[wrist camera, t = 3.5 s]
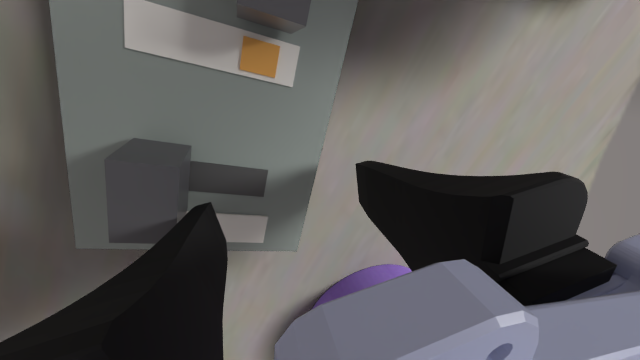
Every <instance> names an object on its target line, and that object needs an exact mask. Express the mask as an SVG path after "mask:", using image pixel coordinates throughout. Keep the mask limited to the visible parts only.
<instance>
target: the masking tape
mask: <svg viewBox="0 0 640 360" xmlns="http://www.w3.org/2000/svg"><path fill="white" fill-rule="evenodd" d="M409 272H412V271H411V269H409V268H407V267H404V266H400V265H390V264H387V265H378V266H372V267H369V268H365V269H363V270H360V271H357V272H355V273H353V274H351V275H349V276H347V277H345V278H344V279H342V280H341V281H339V282H337V283H336V284H335V285H333V286H332V287H331V288H330V289H328V290H327V291H326V292H325V293H324V294H323V295H322V296H321V297H320V299H319V300H318V301H317V302H316V303H315V305H314V306H313V308H312V309H314V308H316V307H317V306H319V305H321V304H324V303H326V302H329V301H332V300H335V299H337V298H340V297H343V296H346V295H349V294H351V293H354V292H357V291H360V290H362V289H365V288H368V287H371V286H373V285H376V284H379V283H382V282H385V281H387V280H390V279H393V278H396V277H398V276H401V275H404V274H407V273H409ZM312 309H311V310H312Z"/></svg>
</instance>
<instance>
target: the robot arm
mask: <svg viewBox="0 0 640 360" xmlns="http://www.w3.org/2000/svg"><path fill="white" fill-rule="evenodd" d="M356 173H357V183H358V194H359V202H360V204H361V206H362V207H363V209H364V211H365V212H366V214H367V215H368V217H369V218H370V219H371V221H372V222H373V223H374V224H375V225H376V227H377V228H378V229H379V230H380V231H381V232H382V234H383V235H384V236H385V237H386V238H387V239H388V240H389V242H390V243H391V244H392V245H393V246H394V247H395V249H396V250H397V251H398V252H399V254H400V255H401V256H402V257H403V259H404V260H405V262H406V263H407V265H408V266H409V268H410V269H411V271H412V272H409V273H407V274H404V275H401V276H398V277H396V278H393V279H390V280H387V281H385V282H382V283H379V284H376V285H373V286H371V287H368V288H365V289H362V290H360V291H357V292H354V293H351V294H349V295H346V296H343V297H340V298H337V299H335V300H332V301H329V302H326V303H324V304H321V305H319V306H317V307H316V308H314V309H312V310H310V311H309V312H307V313H305V314H303V315H302V316H300V317H298V318H296V319H295V320H294V321H293V322H292V323H291V325H290V326H289V327H288V329H287V330H286V331H285V332H284V334H283V335H282V336H281V338H280V339H279V340H278V341H277V343H276V344H275V352H274V360H640V233H639V234H637V235H634V236H632V237H629V238H627V239H625V240H622V241H620V242H618V243H616V244H614V245H613V246H612V247H611V248H610V249H609V251H608V252H607V254H606V256H605V258H603V257H601V256H599V255H597V254H596V253H593V252H592V251H590V250H588V249H586V248H585V247H587V246H588V244H589V243H588V241H587V240H586V239H584V238H582V237H580V236H578V235H576V232H577V229H578V227H579V224H580V221H581V219H582V216H583V213H584V211H585V207H586V204H587V190H586V187H585V185H584V183H583V182H582V181H581V180H579V179H577V178H575V177H572V176H569V175H566V174H563V173H560V172H545V173H534V174H524V175H511V176H457V175H445V174H436V173H429V172H423V171H417V170H412V169H407V168H402V167H398V166H394V165H389V164H385V163H380V162H375V161H365V162H361V163H357V164H356ZM227 261H228V260H227V243H226V238H225V236H224V233H223V231H222V228H221V226H220V223H219V221H218V218H217V216H216V213H215V211H214V208H213V206H212V203H211V202H208V203H204V204H201V205H197V206H195V207H193V208H192V209H191V210H190V211H189V212H188V213H187V214H186V215H185V216H184V217H183V218H182V219H181V220H180V221H179V222H178V223H177V224H176V225H175V226H174V227H173V228H172V229H171V230H170V231H169V232H168V233H167V234H166V235H165V236H164V237H163V238H161V239H160V240H159V241H158V242H157V243H156V244H155V245H154V246H153V247H152V248H151V249H150V250H148V251H147V252H146V253H145V254H144V255H142V256H141V257H140V258H139V259H137V260H136V261H135V262H134V263H132V264H131V265H130V266H128V267H127V268H126V269H124V270H123V271H122V272H120V273H119V274H117V275H116V276H114V277H113V278H111V279H110V280H108V281H107V282H106V283H104V284H103V285H101V286H100V287H98V288H97V289H95V290H94V291H92V292H91V293H89V294H87V295H86V296H84V297H83V298H81V299H79V300H78V301H76V302H74V303H73V304H71V305H69V306H68V307H66V308H64V309H62V310H61V311H59V312H57V313H55V314H54V315H52V316H50V317H48V318H46V319H45V320H43V321H41V322H39V323H37V324H35V325H33V326H32V327H30V328H28V329H26V330H24V331H22V332H20V333H18V334H16V335H14V336H12V337H10V338H8V339H6V340H4V341H2V342H1V343H0V360H223V327H222V318H223V303H224V293H225V283H226V272H227Z"/></svg>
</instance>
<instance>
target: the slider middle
mask: <svg viewBox="0 0 640 360" xmlns="http://www.w3.org/2000/svg"><path fill="white" fill-rule="evenodd" d="M310 4H311V0H237V17H238V18H241V19H244V20H247V21H251V22H254V23H257V24H260V25H264V26H267V27H270V28H273V29H276V30H280V31H283V32H286V33H289V34H292V33H294V32H296V31H298V30H300V29H302V28H304V27H306V25H307V19H308V14H309V9H310Z"/></svg>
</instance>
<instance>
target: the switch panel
mask: <svg viewBox="0 0 640 360" xmlns="http://www.w3.org/2000/svg"><path fill="white" fill-rule="evenodd" d="M357 4H358V0H311V4H310V9H309V14H308V19H307V25H306V27H304V28H302V29H300V30H298V31H296V32H294V33H292V34H289V33H286V32H283V31H280V30H276V29H273V28H270V27H267V26H264V25H260V24H257V23H254V22H251V21H247V20H244V19H241V18H238V17H237V0H49V6H50V15H51V24H52V33H53V43H54V52H55V61H56V70H57V79H58V89H59V98H60V107H61V116H62V125H63V135H64V144H65V153H66V162H67V171H68V181H69V190H70V199H71V208H72V218H73V227H74V236H75V245H76V249H145V250H150V249H151V248H152V247H153V246H154V245H155V244H140V243H109V234H108V216H107V198H106V180H105V162H104V159H105V158H107V157H108V156H109V155H111V154H112V153H113V152H115V151H116V150H118V149H119V148H120V147H122V146H123V145H124V144H126V143H127V142H128V141H130V140H131V139H133V138H139V139H147V140H154V141H161V142H168V143H176V144H183V145H190V146H191V161H190V176H189V192H188V207H187V212H186V214H187V213H188V212H189V211H190V210H191V209H192V208H193V207H195V206H197V205H201V204H204V203H208V202H211V203H212V206H213V208H214V211H215V213H216V216H217V218H218V221H219V223H220V226H221V228H222V231H223V233H224V236H225V238H226V243H227V251H297V248H298V244H299V240H300V236H301V232H302V228H303V224H304V220H305V216H306V212H307V208H308V204H309V200H310V195H311V191H312V187H313V183H314V179H315V175H316V171H317V167H318V163H319V159H320V155H321V151H322V147H323V143H324V138H325V134H326V130H327V126H328V122H329V118H330V114H331V110H332V106H333V102H334V98H335V94H336V90H337V86H338V81H339V77H340V73H341V69H342V65H343V61H344V57H345V53H346V49H347V45H348V41H349V37H350V33H351V28H352V24H353V20H354V16H355V12H356V8H357Z"/></svg>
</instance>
